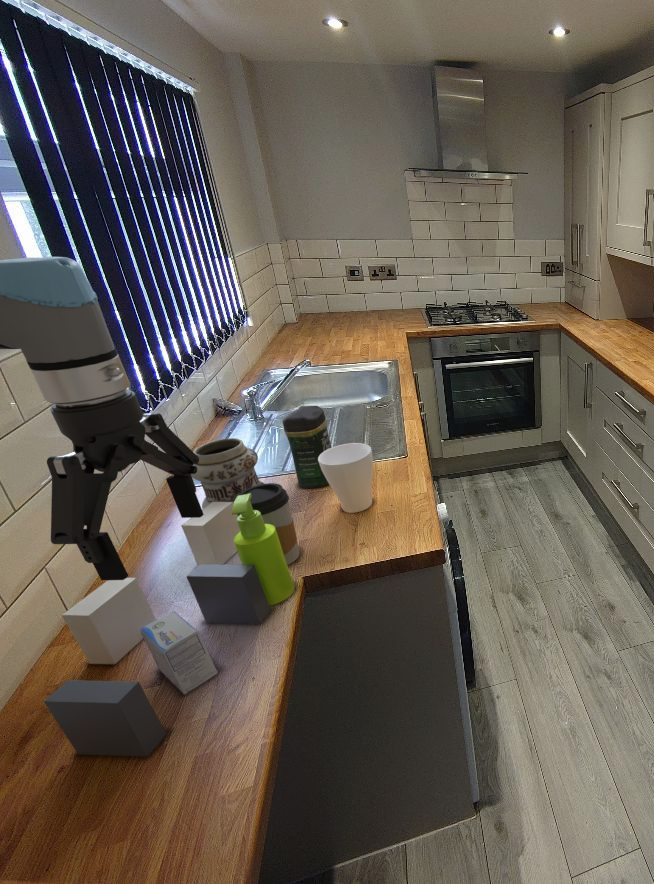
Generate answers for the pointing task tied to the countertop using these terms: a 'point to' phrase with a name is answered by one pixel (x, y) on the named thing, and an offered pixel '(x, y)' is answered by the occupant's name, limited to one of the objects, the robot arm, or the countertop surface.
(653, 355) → the countertop surface
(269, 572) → the soap dispenser
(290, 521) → the coffee cup
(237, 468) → the apothecary jar
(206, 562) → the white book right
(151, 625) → the medicine box
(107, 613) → the white rectangular block
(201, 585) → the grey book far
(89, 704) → the grey block near
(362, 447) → the cup
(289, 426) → the coffee jar
